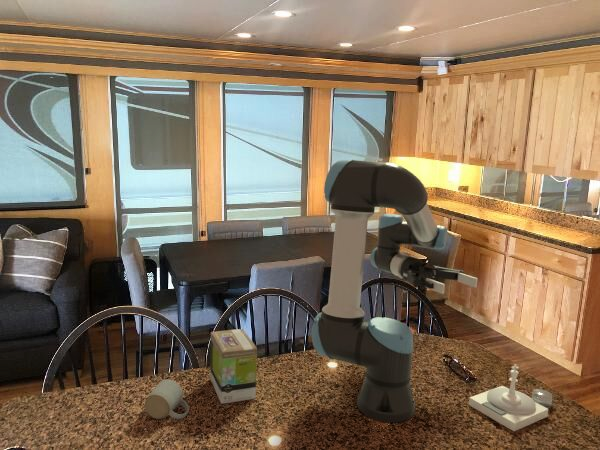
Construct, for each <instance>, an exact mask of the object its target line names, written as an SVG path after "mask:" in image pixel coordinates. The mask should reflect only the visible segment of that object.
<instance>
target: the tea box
mask: <svg viewBox="0 0 600 450" xmlns="http://www.w3.org/2000/svg"><path fill="white" fill-rule="evenodd" d="M209 342H210V348H209V349H210V353H209V379H210V382H211V384H212V386H213V388H214V390H215V392H216V395H217V398H218V400H219V402H220V404H230V403H235V402H243V401H248V400H254V399H256V393H257V371H258V370H257V369H258V367H257V366H258V365H257V363H258V348H257V346H256V344H255V343H254V342H253V340H252V338H250V337H249V335H248V334H247V332H246V331H245V330H244V329H243V328H239V329H238V328H237V329H229V330H218V331H211V332H210V341H209Z"/></svg>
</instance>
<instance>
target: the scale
mask: <svg viewBox="0 0 600 450" xmlns="http://www.w3.org/2000/svg"><path fill="white" fill-rule="evenodd" d="M509 389H510V388H508V387H506V386H504V385H500V386H498V387H495V388H492V389H489V390H487V391H484V392H480V393H478V394H476V395H472V396H470V397H469V398H468V399H469V400H468V406H470V407H472V408H473V409H474V410H476V411H477V412H480V413H482V414H483V415H485V416H487V417H488V418H491V419H492V420H494V421H495V422H497V423H498V424H501V425H502V426H504V428H507V429H508V430H511V431H512V432H517V431H519V430H520V429H523V428H525V427H527V426H529V425H532V424H534V423H537V422H538V421H541V420H542V419H545V418H548V414H549V408H545V407H544V406H542V405H540V404H538V403H536V402H534V400H533V399H532V397H530V396H529V395H527V394H526V393H524V392H520V391H518V390H516V389H515V393H516V395H518V396H519V397H520V398H521V403H520V404H510V403H507V402H505V401H503V400H502V398H501V396H502V394H503V393H507V392H509Z"/></svg>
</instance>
